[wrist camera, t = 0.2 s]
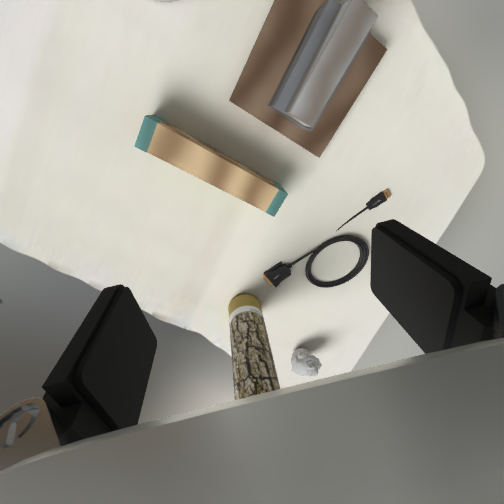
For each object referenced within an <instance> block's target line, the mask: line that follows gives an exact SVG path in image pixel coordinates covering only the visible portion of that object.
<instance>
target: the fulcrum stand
mask: <svg viewBox="0 0 504 504" xmlns="http://www.w3.org/2000/svg"><path fill="white" fill-rule="evenodd" d="M377 17H378V15H377V14H376V13H375V12H374V11H373V10H372V9H371V8H370V7H369V6H368V5H367V4H365V3H364V2H363V1H362V0H347V1H346V2H345V3H343V4H342V5H339V4H338V3H337V2H336V1H335V0H275V1H274V3H273V5H272V7H271V10H270V12H269V14H268V16H267V18H266V21H265V23H264V25H263V27H262V29H261V32H260V34H259V36H258V38H257V40H256V43H255V45H254V47H253V49H252V51H251V54H250V56H249V58H248V60H247V63H246V65H245V67H244V69H243V71H242V74H241V76H240V78H239V80H238V82H237V85H236V87H235V89H234V91H233V93H232V96H231V98H230V100H229V101H231V102H232V103H234V104H235V105H237V106H239V107H240V108H242V109H243V110H245V111H246V112H248V113H250V114H251V115H253V116H254V117H256V118H257V119H259V120H261V121H262V122H264V123H265V124H267V125H269V126H270V127H272V128H273V129H275V130H276V131H278V132H280V133H281V134H283V135H284V136H286V137H287V138H289V139H291V140H292V141H294V142H295V143H297V144H298V145H300V146H302V147H303V148H305V149H306V150H308V151H309V152H311V153H313V154H314V155H316V156H318V157H320V156H321V154H322V153H323V151H324V149H325V148H326V146H327V145H328V143H329V141H330V140H331V138H332V137H333V135H334V133H335V132H336V130H337V129H338V127H339V125H340V124H341V122H342V121H343V119H344V118H345V116H346V114H347V113H348V111H349V110H350V108H351V106H352V105H353V103H354V102H355V100H356V98H357V97H358V95H359V94H360V92H361V90H362V89H363V87H364V86H365V84H366V82H367V81H368V79H369V78H370V76H371V74H372V73H373V71H374V70H375V68H376V66H377V65H378V63H379V62H380V60H381V58H382V57H383V55H384V54H385V52H386V51H387V49H386V48H385V47H384V46H383V45H382V44H381V43H380V42H378V41H377V40H376V39H375V38H374V37H373V36H372V35H371V34H370V32H369V30H370V28H371V27H372V25H373V23H374V22H375V20H376V18H377Z"/></svg>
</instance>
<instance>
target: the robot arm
mask: <svg viewBox="0 0 504 504" xmlns="http://www.w3.org/2000/svg"><path fill="white" fill-rule="evenodd" d="M155 1H159V2H173V1H177V0H155ZM491 279H492V278H491V277H489V276H488V275H486V274H485V273H483V272H481V271H480V270H478V269H476V268H475V267H473V266H471V265H470V264H468V263H466V262H465V261H463V260H461V259H460V258H458V257H456V256H455V255H453V254H451V253H450V252H448V251H446V250H445V249H443V248H441V247H440V246H438V245H436V244H435V243H433V242H431V241H430V240H428V239H426V238H425V237H423V236H421V235H420V234H418V233H416V232H415V231H413V230H411V229H410V228H408V227H406V226H405V225H403V224H401V223H400V222H398V221H396V220H394V219H393V220H388V221H384V222H380V223H377V224H376V227H375V228H373V229H372V242H371V290H372V292H373V294H374V295H375V296H376V297H377V298H378V300H379V301H380V302H381V303H382V304H383V305H384V306H385V308H386V309H387V310H388V311H389V312H390V313H391V314H392V316H393V317H394V318H395V319H396V320H397V321H398V323H399V324H400V325H401V326H402V327H403V328H404V330H406V332H407V333H408V334H409V335H410V336H411V338H412V339H413V340H414V341H415V342H416V343H417V344H418V346H420V348H421V349H422V350H423V351H424V353H425V354H423V355H419V356H415V357H411V358H407V359H402V360H398V361H394V362H390V363H386V364H382V365H377V366H373V367H369V368H365V369H361V370H357V371H352V372H348V373H344V374H340V375H336V376H331V377H327V378H323V379H319V380H315V381H311V382H307V383H303V384H299V385H295V386H291V387H286V388H282V389H278V390H274V391H270V392H266V393H262V394H258V395H254V396H250V397H246V398H242V399H238V400H234V401H230V402H226V403H222V404H218V405H214V406H210V407H206V408H202V409H198V410H194V411H190V412H186V413H182V414H178V415H174V416H170V417H166V418H162V419H158V420H154V421H150V422H146V423H142V424H138V419H139V416H140V412H141V407H142V404H143V400H144V396H145V392H146V388H147V384H148V379H149V375H150V371H151V368H152V363H153V359H154V355H155V351H156V347H157V340H156V337H155V335H154V333H153V331H152V329H151V328H150V326H149V324H148V322H147V320H146V319H145V316H144V314H143V313H142V311H141V309H140V307H139V305H138V303H137V301H136V300H135V298H134V296H133V294H132V292H131V290H130V289H129V288H128V287H124V286H123V285H121V284H120V285H116V286H112V287H107V288H104V289H103V291H102V292H101V294H100V295H99V297H98V299H97V300H96V302H95V303H94V305H93V306H92V308H91V310H90V312H89V313H88V314H87V316H86V318H85V319H84V321H83V322H82V324H81V326H80V327H79V329H78V330H77V332H76V333H75V335H74V337H73V338H72V340H71V341H70V343H69V345H68V346H67V348H66V350H65V351H64V353H63V354H62V356H61V357H60V359H59V361H58V362H57V364H56V365H55V367H54V368H53V370H52V372H51V373H50V375H49V377H48V378H47V380H46V381H45V383H44V384H43V386H42V388H43V389H44V390H45V391H46V393H45V395H44V396H43V398H37V397H36V398H30V399H27V400H24V401H22V402H19V403H18V404H16V405H14V406H13V407H11V408H9V409H8V410H7V411H6V412H4V413H3V414H2V415H0V504H504V284H501V285H500V286H498V287H497V288H495V287H493V286H492V285H490V283H491ZM137 424H138V425H137Z"/></svg>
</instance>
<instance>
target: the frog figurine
mask: <svg viewBox="0 0 504 504" xmlns="http://www.w3.org/2000/svg"><path fill="white" fill-rule="evenodd" d="M291 364H292V366H293V367H292V371H293V372H294V373H296V374H299V375H305V376H312V375H313V376H316V375H317V374H318V369H320V367H321V366H322V365H321V363H320V361H319V359H318V358H316V357H315V356H313V355H312V354H311V353H310V352H309V351H308V350H307V349H304V348H299V349H296V350H295V351H294V352H293V354H292V358H291Z"/></svg>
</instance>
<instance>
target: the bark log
mask: <svg viewBox="0 0 504 504" xmlns="http://www.w3.org/2000/svg"><path fill="white" fill-rule="evenodd" d="M229 324H230V338H231V352H232V365H233V380H234V393H235V400H238V399H242V398H246V397H250V396H254V395H258V394H262V393H266V392H270V391H274V390H278V389H280V386H279V382H278V377H277V373H276V369H275V365H274V360H273V356H272V352H271V348H270V344H269V339H268V335H267V331H266V327H265V322H264V318H263V314H262V310H261V306H260V302H259V300H258V299H257V298H256V297H254V296H252V295H249V294H242V295H239V296H237V297H235V298H234V299H233V300H232V301H231V302H230V304H229Z"/></svg>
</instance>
